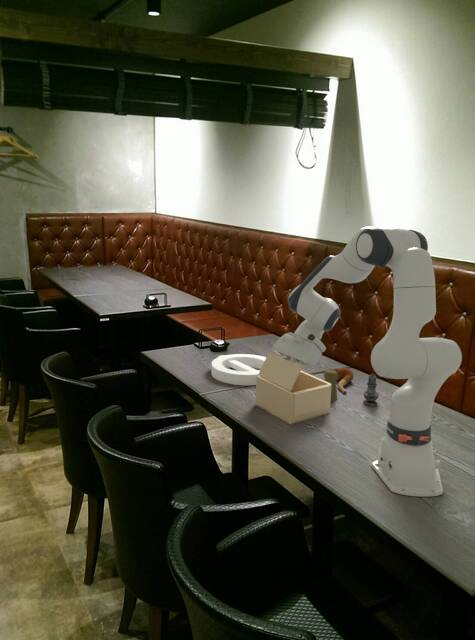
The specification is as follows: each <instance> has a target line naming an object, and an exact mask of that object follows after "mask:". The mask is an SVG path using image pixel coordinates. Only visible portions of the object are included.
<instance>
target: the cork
mask: <svg viewBox="0 0 475 640" xmlns="http://www.w3.org/2000/svg"><path fill="white" fill-rule="evenodd" d="M323 377H324V381H326V382H328V383H331V384H332V387H331V401H330V402H336V401H337V400H338V391H337V390H338V389H337V388H338V386H337V378H338V374H337V372H336V370H334V369H333V370H332V369H327V370H325V371H324V373H323Z"/></svg>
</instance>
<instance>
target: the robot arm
mask: <svg viewBox="0 0 475 640" xmlns="http://www.w3.org/2000/svg"><path fill="white" fill-rule="evenodd" d="M428 249H429V244H428V240H427V238H426V236H425V235H424V234H423V233H421V232H420V231H417V230H415V229H414V230H413V229H405V228H397V227H394V226H393V227H391V226H389V227H386V226H385V227H383V226H382V227H378V226H364V227H362V228H360V229H359V230H358V231H357V232H356V233H355V234H354V235H353V236H352V238H351V239H350V240H349V241H348V242H347V244H346V245H345V247H344V248H343V249H342V251H341V252H340V253H338V254H336V255H328V256H327V257H325V258H324V259H323V260H322V261H321V263H319V264H318V265H317V266H316V267H315V268H314V269H313V270H312V271H311V272H310V273H309V275H307V277H306V278H305V279H304V280H303V281H302V283H300V284H299V285H298V286H296V287H295V288H294V289H293V290H292V291H291V292H290V293H289V296H288V298H287V305H288V308H289V310H290V311H292V312H294V313H296V314H297V315H299V316H301V317H302V318H303V319H305V320H303V321H302V322H301V323H300V324H299V326H298V327H297V328H296V330H295V331H294V333H293V332H290V331H288V332H286V333H284V334H283V335H282V336H280V337H279V338H278V339H277V341H276V342H275V343H274V344H273V345H272V350H273V351H274V353H275V354H277V355H279V356H280V357H282V358H283V359H285V360H288V361H290V362H292V363H295V364H301V365H303V366H305V367H307V368H313V367H315V365H317V363H318V362H319V360H320V359H321V357H322V355H323V353H324V352H325V351H326V349H327V347H326V346H325V344H324V343H323V341H322V340H321V339H322V337H323V334H324V333H325V332H329V331H332V330H333V327H334V326H335V325H336V323H338V321H340V318H341V315H340V308H339V306H338V304H337V303H336V301H334V300H333V299H332V298H329V297H323V296H322V295H320V294H319V293H318V292H317V291H316V290H314V287H315V286H317V284H318V283H319V282H320V281H321V280H323V279H332V280H336V281H339V282H341V283H346V284H356V283H360V282H362V281H364V280H365V279H366V278H367V277H369V275H370V274H371V273H372V271H373V270H374V268H376V267H378V268H384V267H385V266H386V267H388V268H389V269H390V270H391V271H392V275H393V311H392V312H393V314H392V319H391V323H390V325H389V329H387V332H386V333H385V335H384V337H382V338H381V340H379V342H377V343H376V344H375V345H374V347H373V348H372V349H371V353H370V354H371V355H370V363H371V366H372V368H373V371H374V372H375V373H376V374H377V375H378V376H379V377H381V378H386V379H393V380H405V379H407V380H406V382H405V383H404V384H403V385H402V386H400V387H399V388H397V389H396V390H395V391H394V392H393V394H392V395H391V400H390V410H389V411H390V412H389V418H388V419H387V422H386V434H385V435H384V437H382V438H381V439H380V441H379V448H378V453H377V454H378V455H377V460H375V461H372V463H371V467H372V469H373V470H374V471H375V472H376V474H377V475H378V476H379V477H380V479H381V480H382V481H383V483H384V484H385V485H386V487H387V488H388V489H389V490H390V491H391V492H392V493H395V494H399V495H404V496H408V497H409V496H411V497H422V498H423V497H426V498H427V497H437V496H440V495H443V494H444V487H443V483H442V481H441V475H440V472H439V470H440V469H441V465H442V464H441V460H439V459H435V456H437V450H435V449H434V448H433V441H432V425H431V419H432V412H433V406H434V402H435V398H436V397H437V394H438V392H439V390H440V388H441V387H442V385H443V384H444V383H445V382H446V380H447V379H448V378H449V377H451V376H452V375H453V374H454V373H456V372H457V371H458V370H459V368H460V366H461V364H462V361H463V355H462V351H461V347H460V346H459V345H458V343H457V342H456V341H454V340H452V339H447V338H444V337H438V336H437V337H436V336H435V337H434V336H433V337H420V333H421V330H422V328H423V327H424V326H425V325H426V324H428V323H429V322H431V321H432V320H433V319H434V318H435V316H436V314H437V313H436V312H437V305H436V304H437V302H436V301H437V299H436V297H437V295H436V276H435V270H434V266H433V265H434V264H433V260H432V256H431V254H430V252H429V251H428Z"/></svg>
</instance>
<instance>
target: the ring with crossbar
mask: <svg viewBox="0 0 475 640" xmlns="http://www.w3.org/2000/svg"><path fill="white" fill-rule="evenodd" d="M266 357H267V356H263V355H258V354H251V353H250V354H248V353H246V354H245V353H234V354H226V355H225V354H222V355H218V356H217V357H216V358H215V359H212V361H211V365H210V366H211V372H210V373H211V376H212V377H213V378H214V379H215V380H217V381H219V382H221V383H225V384H230V385H235V386H237V385H238V386H256V382H257V376H259V375H258V374H259V372H260V370H261V368H262V366H263V364H264V361H265V359H266ZM231 368H232V369H231Z"/></svg>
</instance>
